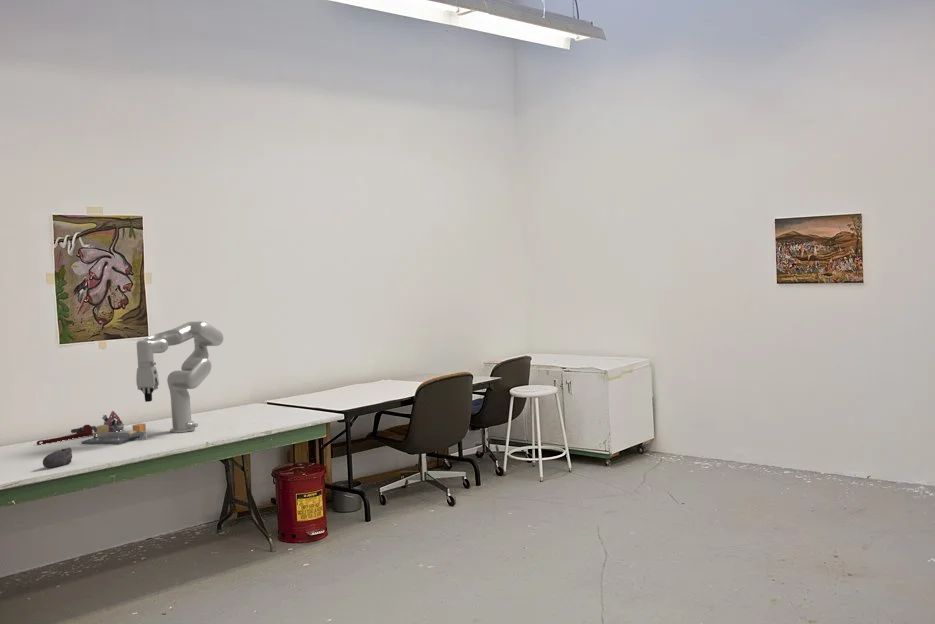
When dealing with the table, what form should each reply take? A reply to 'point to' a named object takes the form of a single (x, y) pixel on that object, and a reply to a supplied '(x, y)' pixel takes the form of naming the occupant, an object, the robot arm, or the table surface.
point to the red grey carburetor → (113, 422)
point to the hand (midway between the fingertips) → (148, 401)
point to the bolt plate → (112, 436)
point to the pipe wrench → (80, 432)
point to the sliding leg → (137, 428)
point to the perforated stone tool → (58, 458)
